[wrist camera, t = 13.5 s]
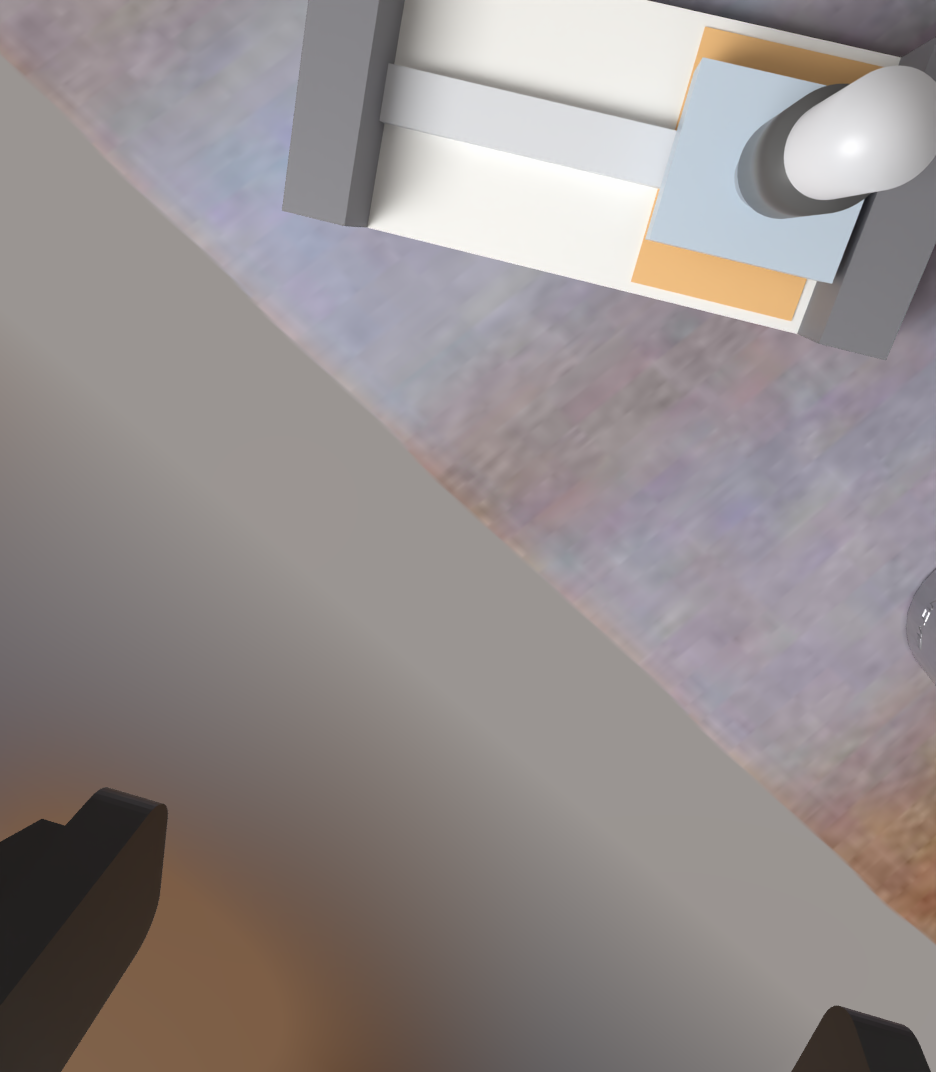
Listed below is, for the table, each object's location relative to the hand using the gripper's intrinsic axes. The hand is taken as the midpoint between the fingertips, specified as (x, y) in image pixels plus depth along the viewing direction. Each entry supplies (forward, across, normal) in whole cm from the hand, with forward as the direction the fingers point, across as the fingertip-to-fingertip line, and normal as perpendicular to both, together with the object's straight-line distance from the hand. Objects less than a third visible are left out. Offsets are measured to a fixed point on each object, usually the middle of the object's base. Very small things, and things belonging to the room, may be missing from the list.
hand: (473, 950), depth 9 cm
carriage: (+33, -6, -12) cm, 36 cm away
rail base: (+36, +1, -12) cm, 38 cm away
